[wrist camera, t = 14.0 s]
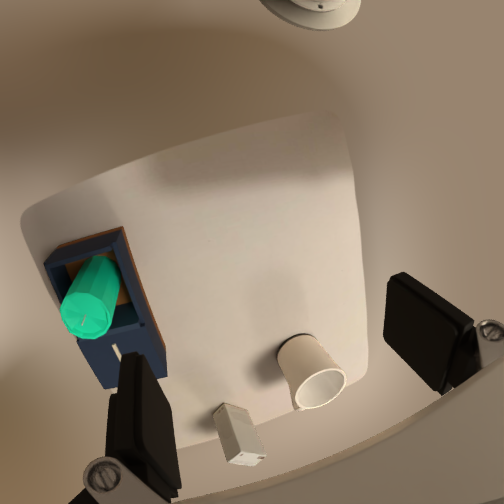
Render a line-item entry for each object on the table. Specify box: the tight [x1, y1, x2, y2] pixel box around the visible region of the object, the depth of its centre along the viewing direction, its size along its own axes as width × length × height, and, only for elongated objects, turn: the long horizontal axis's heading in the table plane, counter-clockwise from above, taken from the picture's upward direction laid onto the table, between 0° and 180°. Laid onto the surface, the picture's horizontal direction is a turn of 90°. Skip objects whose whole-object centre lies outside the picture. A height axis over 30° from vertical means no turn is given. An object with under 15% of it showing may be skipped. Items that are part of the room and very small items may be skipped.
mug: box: [277, 334, 347, 411], centre depth 49 cm, size 11×9×10 cm
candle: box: [60, 256, 121, 339], centre depth 33 cm, size 6×6×12 cm
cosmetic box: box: [213, 403, 266, 466], centre depth 50 cm, size 6×4×12 cm
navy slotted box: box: [44, 226, 167, 389], centre depth 38 cm, size 20×10×8 cm, turn 10°
